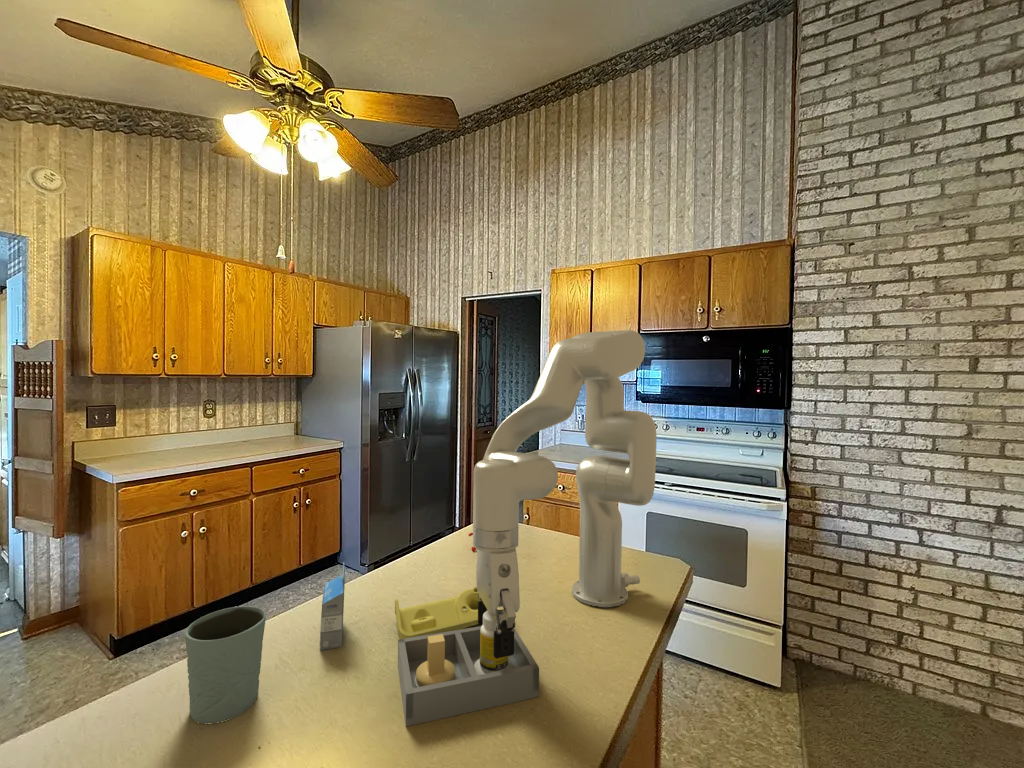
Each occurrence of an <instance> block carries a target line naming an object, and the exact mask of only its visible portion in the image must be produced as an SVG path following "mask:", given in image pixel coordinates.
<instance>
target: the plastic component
mask: <svg viewBox="0 0 1024 768" xmlns="http://www.w3.org/2000/svg"><path fill="white" fill-rule="evenodd" d="M478 601H481V600H479V599H478V590H477V586H474V587H471V588H468V589H465V590H463V591H462V592H460V593H459V594H458V596H454V597H449V598H445V599H440V600H439V599H438V600H435V601H432V602H426V603H422V604H418V605H417V604H416V605H413V606H408V607H403V608H400V604H399V598H394V615H395V618H396V627H397V636H398V640H400V639H406V638H412V637H418V636H424V635H430V634H436V633H443V632H449V631H455V630H461V629H467V628H471V627H473V626H476V625H479V624H478ZM463 609H464V610H463Z"/></svg>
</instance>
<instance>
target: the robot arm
mask: <svg viewBox="0 0 1024 768" xmlns="http://www.w3.org/2000/svg"><path fill="white" fill-rule="evenodd" d="M645 354H646V346H645V342H644V338H643V337H642V336H641V334H640V333H639V332H638V331H636V330H632V329H627V330H625V329H624V330H609V331H608V330H607V331H593V332H590V331H589V332H583V333H579V334H576V335H574V336H573V337H571V338H566V339H562V340H561V339H560V340H559V341H557V342H556V343H555V344H554V345H553V346H552V348H551V350H550V352H549V354H548V356H547V358H546V362H545V364H544V366H543V367H542V371H541V373H540V376H539V378H538V380H537V383H536V385H535V387H534V389H533V392H532V394H531V396H530V398H529V399H528V400H526V401H525V403H522V404H521V405H520V406H518V408H517V409H515V410H514V411H512V413H510V415H509V416H507V417H506V419H504V420H503V421H502V422H501V423H500V424H499V426H498V427H497V429H495V431H494V433H493V434H492V436H491V439H490V441H489V443H488V446H487V448H486V450H485V453H484V454H483V455H484V456H483V459H482V460H480V461H478V462H476V464H475V465H474V468H473V474H472V475H473V476H472V477H473V480H472V481H473V484H472V485H473V487H472V489H473V495H472V496H473V498H472V499H473V503H472V505H473V506H472V508H473V510H472V512H473V513H472V533H473V535H472V547H475V548H476V571H475V572H476V575H475V576H476V579H475V580H476V587H477V590H478V599H479V600H481V601H478V624H477V625H479V626H482V625H483V614H484V613H485V612H486V611H488V612H489V613H490V614H491V615H493V616H494V621H495V628H496V631H494V651H493V654H494V657H495V658H501V657H506V656H511V655H513V654H514V631H515V630H516V617H517V616H516V615H517V612H519V611H520V607H521V606H520V605H521V603H520V601H521V600H520V598H521V597H520V576H519V563H518V554H517V550H516V549H517V547H519V525H520V523H519V513H520V512H519V511H520V509H519V507H520V502H521V501H528V500H531V501H532V500H540V499H543V498H545V497H548V496H549V495H550V494H551V493H552V492H553V491H554V490H555V489H556V486H557V483H558V480H559V474H558V473H559V472H558V468H557V466H556V464H555V463H554V462H553V461H552V460H551V459H549V458H548V457H545V456H542V455H539V454H531V453H525V452H520V451H519V452H518V449H519V447H520V446H521V445H522V444H523V442H525V441H526V440H527V439H528V438H530V437H531V436H532V435H535V434H536V433H537V432H541V431H543V430H545V429H548V428H551V427H554V426H555V425H558V424H560V423H563V422H565V421H567V420H568V419H570V417H572V415H573V412H574V409H575V407H576V404H577V401H578V398H579V395H580V394H581V393H580V392H581V390H582V388H583V385H584V386H585V391H586V392H585V393H586V399H585V402H586V403H585V423H584V424H585V425H584V433H585V434H584V436H585V437H584V438H585V442H586V444H587V445H588V446H589V447H590V448H591V449H594V450H598V451H603V452H604V451H605V452H612V453H620V454H627V455H628V459H626V458H625V459H624V458H617V457H612V456H610V457H609V456H604V455H603V456H602V455H591V456H588V457H585V458H583V459H582V460H580V462H579V464H578V465H577V468H576V471H575V483H576V486H577V492H578V502H579V550H578V560H579V562H578V580H577V581H576V582H574V583H573V584H572V586H571V594H572V596H573V595H574V596H573V597H574V598H575V599H576V600H578V601H579V602H581V603H583V604H586V605H588V606H591V605H592V607H596V606H598V608H615V607H619V606H622V605H624V604H625V603H626V602H627V601H628V599H629V592H628V589H627V588H628V587H629V586H631V585H632V586H633V585H634V586H635V585H639V584H640V583H641V579H640V577H639V575H638V574H633V575H629V573H628V572H622V556H623V555H622V554H623V553H622V552H623V551H622V547H623V546H622V544H623V543H622V541H623V539H622V537H623V519H622V514H621V511H620V509H619V506H618V505H617V503H619V504H625V505H632V506H638V507H639V506H640V507H642V506H645V505H648V504H649V503H650V502H651V500H652V499H653V497H654V493H655V487H656V486H655V485H656V469H657V468H656V466H657V463H656V461H657V439H658V438H657V427H656V424H655V422H654V419H653V417H651V415H650V414H648V413H647V412H644V411H639V410H638V411H637V410H625V408H624V407H625V406H624V405H625V402H624V399H625V396H624V395H625V394H624V393H625V391H624V390H625V388H624V385H623V383H622V380H621V379H620V377H623V376H624V375H625V376H626V374H629V373H630V372H633V371H635V370H637V369H638V368H639V367H640V366H641V364H642V363H643V361H644V358H645ZM626 600H627V601H626ZM621 604H622V605H621ZM614 606H615V607H614ZM501 607H502V608H503V609H499V610H497V609H498V608H501ZM501 615H505V617H504V618H505V620H503V621H502V622H501V624H500V620H499V616H501Z"/></svg>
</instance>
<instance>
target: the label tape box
mask: <svg viewBox="0 0 1024 768" xmlns="http://www.w3.org/2000/svg"><path fill="white" fill-rule="evenodd" d="M345 570H346V569H345V562H344V561H343V569H342V574H341V575H339V576H337V577H336V578H333V579H331V580H329V581H327V582H325V583H324V586H323V593H322V594H323V595H322V603H321V614H320V615H321V617H320V632H319V633H320V635H319V637H320V639H319V650H321V651H322V650H331V649H337V648H341V647H342V645H343V644H342V643H343V642H342V641H343V631H344V630H343V626H344V608H345V607H344V606H345V604H344V603H345V589H346V588H345V587H346V585H345V581H346V580H345V579H346V576H345V575H346V573H345Z"/></svg>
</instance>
